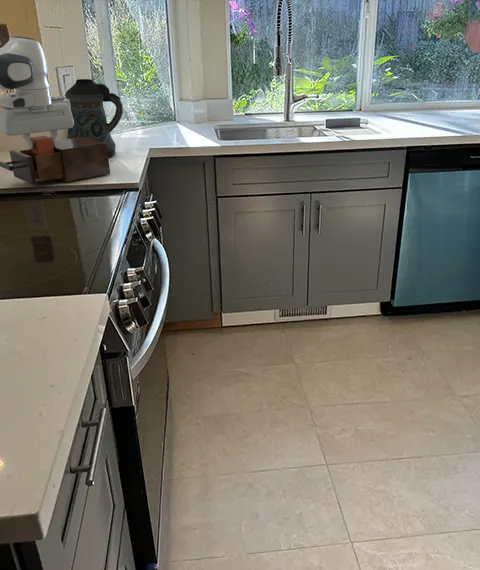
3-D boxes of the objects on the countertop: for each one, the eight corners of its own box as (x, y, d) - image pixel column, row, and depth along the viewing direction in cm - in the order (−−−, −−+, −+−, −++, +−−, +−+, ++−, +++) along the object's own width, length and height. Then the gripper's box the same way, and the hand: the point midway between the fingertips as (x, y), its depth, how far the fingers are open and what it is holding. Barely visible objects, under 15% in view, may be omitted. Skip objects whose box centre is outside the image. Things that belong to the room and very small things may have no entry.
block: (39, 155, 171) (36, 139, 169) (32, 152, 174) (29, 137, 172) (54, 153, 174) (52, 137, 172) (47, 150, 177) (44, 135, 175)
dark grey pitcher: (58, 154, 206) (45, 79, 195) (110, 145, 219) (100, 74, 208) (80, 163, 196) (67, 84, 185) (133, 154, 208) (124, 80, 197)
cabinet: (66, 181, 175) (61, 149, 171) (45, 173, 183) (40, 142, 179) (110, 173, 186) (106, 143, 181) (89, 166, 193) (85, 136, 189)
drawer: (16, 187, 165) (10, 159, 162) (-3, 179, 172) (-8, 152, 169) (76, 176, 178) (73, 150, 175) (57, 169, 185) (53, 144, 181)
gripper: (63, 94, 176) (70, 140, 182) (-8, 100, 162) (2, 150, 168) (74, 96, 173) (80, 144, 178) (2, 102, 158) (12, 154, 164)
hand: (42, 147), depth 173 cm, fingers closed on block, 4 cm apart
